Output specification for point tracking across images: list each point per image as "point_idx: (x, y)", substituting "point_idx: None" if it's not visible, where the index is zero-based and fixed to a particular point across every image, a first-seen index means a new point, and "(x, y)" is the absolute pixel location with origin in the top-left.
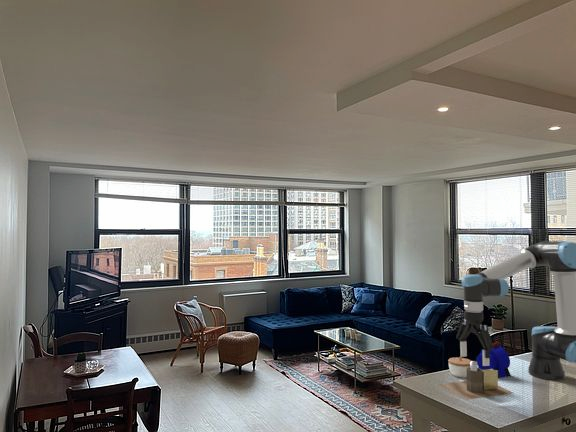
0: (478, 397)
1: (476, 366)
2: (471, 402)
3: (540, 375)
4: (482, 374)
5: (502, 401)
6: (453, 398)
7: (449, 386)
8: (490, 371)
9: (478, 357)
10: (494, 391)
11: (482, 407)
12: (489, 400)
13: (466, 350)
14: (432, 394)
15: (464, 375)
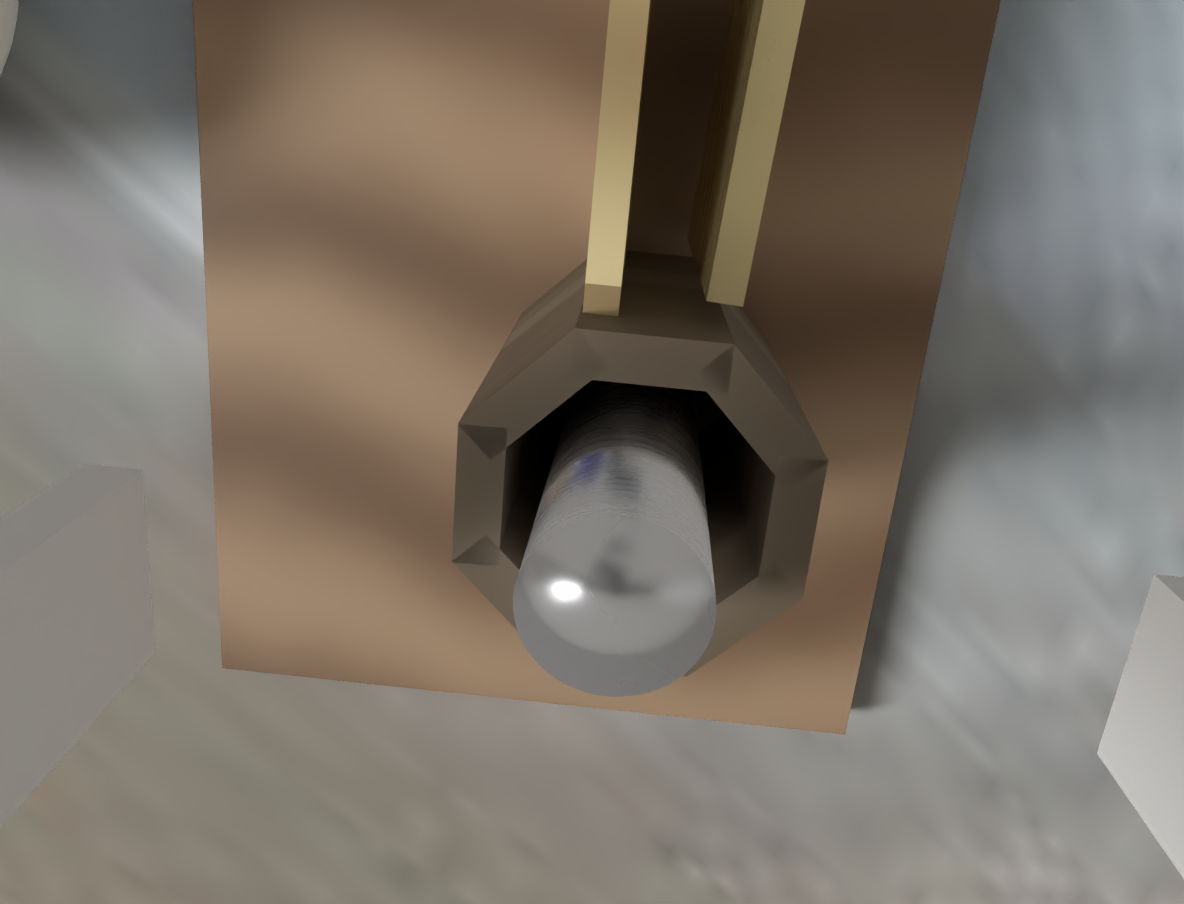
0: (876, 540)
1: (711, 556)
2: (869, 655)
3: None
4: (725, 317)
5: (1075, 214)
6: (661, 757)
7: (357, 600)
8: (787, 84)
9: None
10: (812, 75)
11: (1058, 653)
12: (943, 374)
13: (24, 569)
14: (453, 881)
15: (13, 30)
